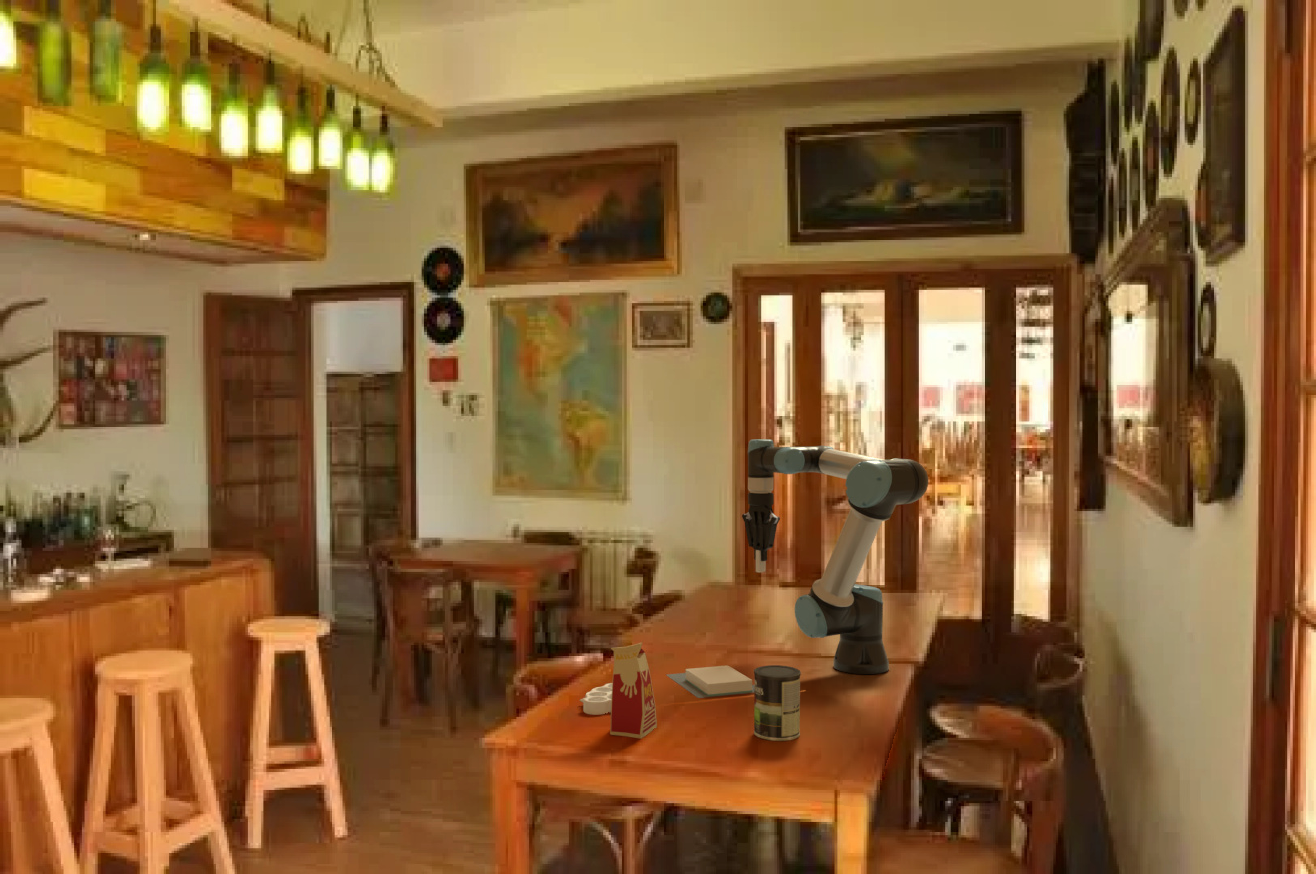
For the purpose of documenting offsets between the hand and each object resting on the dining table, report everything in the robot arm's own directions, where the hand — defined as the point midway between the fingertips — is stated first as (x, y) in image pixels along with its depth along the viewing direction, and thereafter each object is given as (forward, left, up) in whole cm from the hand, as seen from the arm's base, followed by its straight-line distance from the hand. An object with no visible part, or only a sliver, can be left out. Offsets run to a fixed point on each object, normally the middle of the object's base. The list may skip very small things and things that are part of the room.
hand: (760, 571), depth 301 cm
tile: (-10, +33, -22) cm, 41 cm away
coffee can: (-52, +54, -25) cm, 79 cm away
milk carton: (-28, +76, -25) cm, 85 cm away
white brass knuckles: (-9, +66, -25) cm, 71 cm away
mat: (-14, +35, -24) cm, 45 cm away
